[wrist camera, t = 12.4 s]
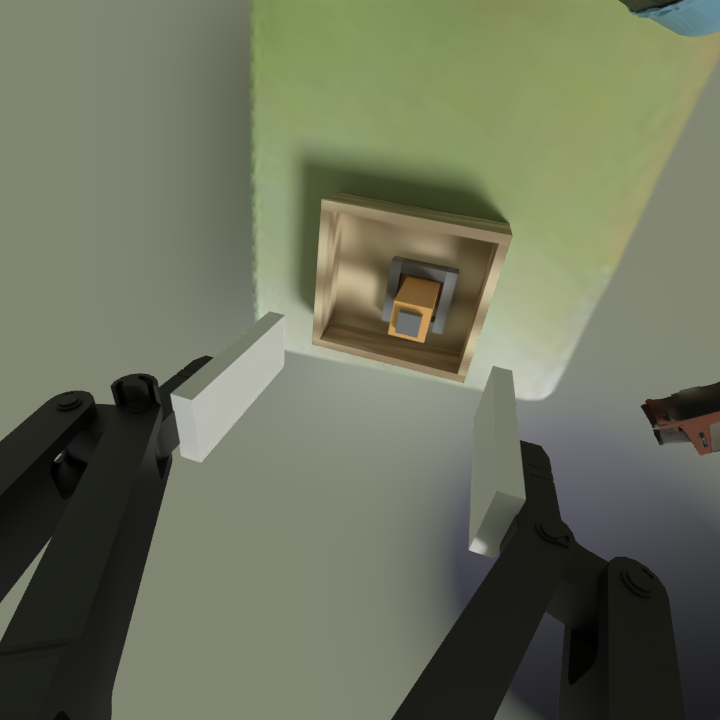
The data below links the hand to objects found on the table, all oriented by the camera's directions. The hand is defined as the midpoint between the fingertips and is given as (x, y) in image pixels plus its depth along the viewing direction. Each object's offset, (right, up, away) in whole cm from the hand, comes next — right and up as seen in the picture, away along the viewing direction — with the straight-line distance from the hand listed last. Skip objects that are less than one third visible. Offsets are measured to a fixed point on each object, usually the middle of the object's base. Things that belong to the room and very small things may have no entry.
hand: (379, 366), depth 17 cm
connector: (+7, +9, +32) cm, 34 cm away
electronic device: (+35, -6, +26) cm, 44 cm away
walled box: (+5, +10, +32) cm, 34 cm away
